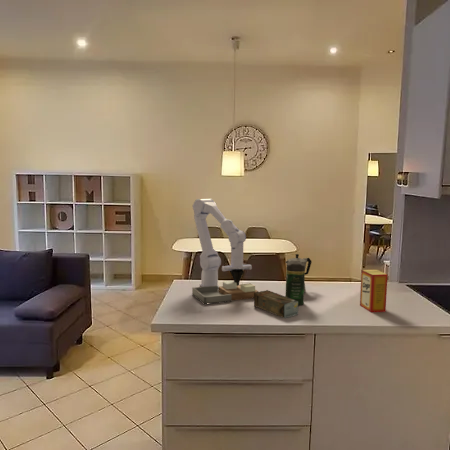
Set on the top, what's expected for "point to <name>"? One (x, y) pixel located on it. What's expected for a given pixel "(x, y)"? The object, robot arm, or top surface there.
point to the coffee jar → (295, 281)
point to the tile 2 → (247, 287)
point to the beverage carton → (276, 303)
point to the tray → (210, 294)
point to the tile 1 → (229, 285)
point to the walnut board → (237, 293)
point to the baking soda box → (373, 290)
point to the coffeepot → (303, 263)
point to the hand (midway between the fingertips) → (236, 285)
